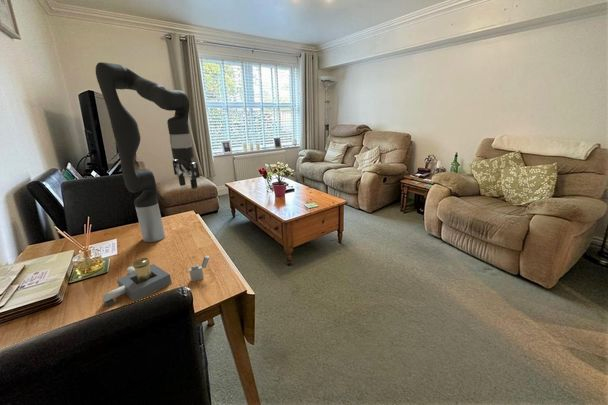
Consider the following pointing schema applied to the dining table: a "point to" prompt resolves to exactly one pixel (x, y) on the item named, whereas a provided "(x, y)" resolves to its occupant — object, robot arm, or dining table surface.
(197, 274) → the lighter
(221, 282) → the dining table surface
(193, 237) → the dining table surface
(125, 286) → the shaft housing
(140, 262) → the gold cylindrical piece
